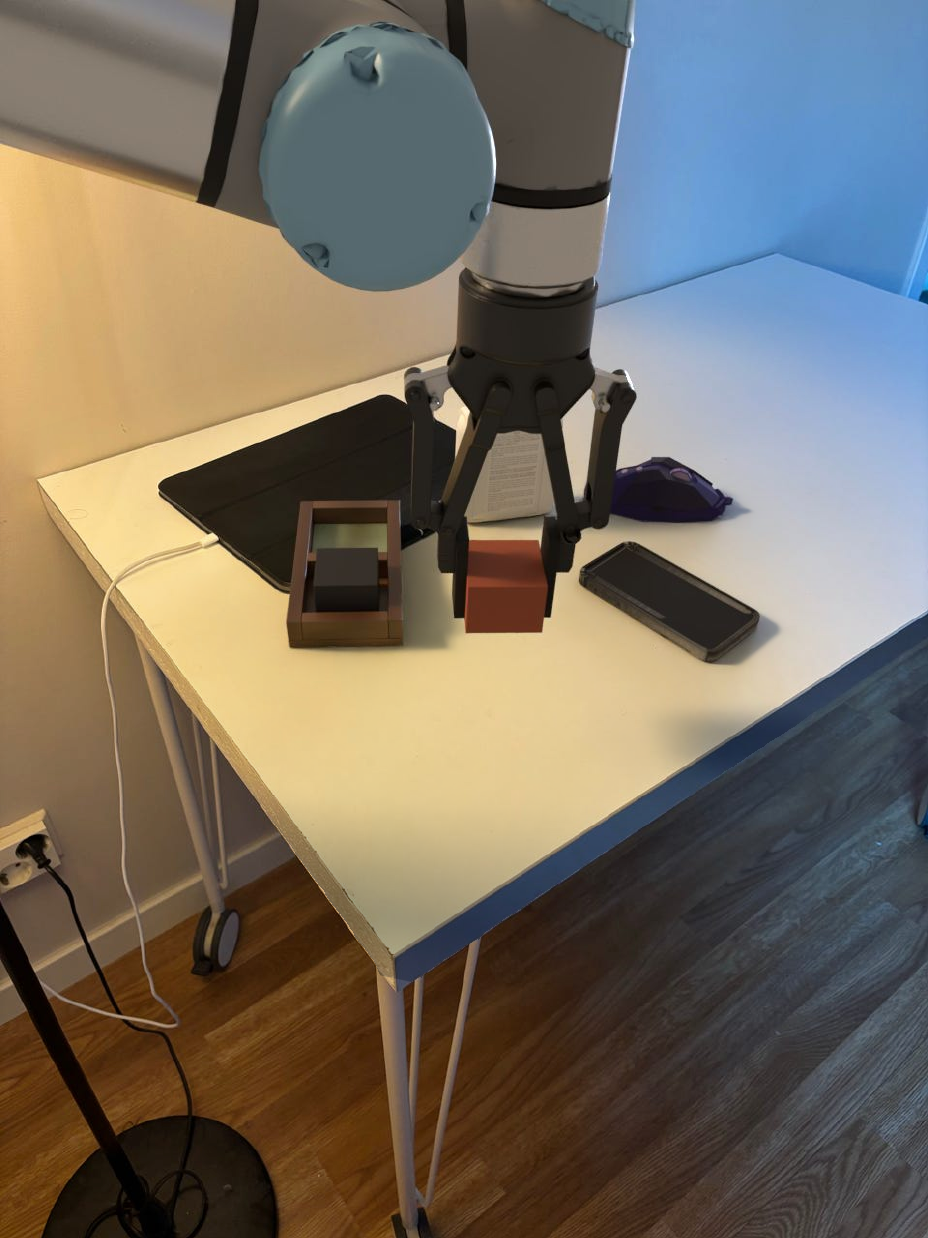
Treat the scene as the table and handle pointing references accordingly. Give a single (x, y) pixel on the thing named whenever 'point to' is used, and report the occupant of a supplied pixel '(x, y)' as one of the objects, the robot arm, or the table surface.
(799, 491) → the table surface
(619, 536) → the table surface
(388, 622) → the frame
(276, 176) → the robot arm
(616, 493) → the computer mouse
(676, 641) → the phone
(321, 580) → the black block
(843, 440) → the table surface
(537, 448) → the photo printer
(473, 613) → the pad
